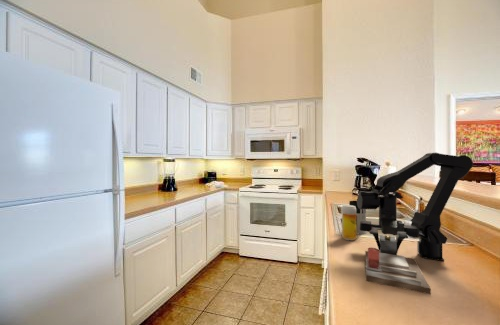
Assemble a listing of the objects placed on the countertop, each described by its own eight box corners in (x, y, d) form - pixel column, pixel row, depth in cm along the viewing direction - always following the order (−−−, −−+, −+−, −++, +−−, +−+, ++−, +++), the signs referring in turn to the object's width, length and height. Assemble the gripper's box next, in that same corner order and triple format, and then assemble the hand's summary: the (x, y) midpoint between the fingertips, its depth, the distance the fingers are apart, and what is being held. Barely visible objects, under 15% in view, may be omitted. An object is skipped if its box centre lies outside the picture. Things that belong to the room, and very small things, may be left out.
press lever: (380, 270, 69) (380, 248, 69) (381, 275, 66) (381, 252, 66) (366, 267, 71) (365, 246, 71) (366, 272, 67) (366, 250, 67)
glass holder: (363, 229, 118) (363, 200, 119) (374, 238, 104) (374, 205, 105) (345, 228, 120) (345, 200, 120) (354, 237, 106) (354, 205, 106)
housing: (394, 252, 87) (394, 234, 87) (396, 259, 81) (396, 239, 81) (379, 250, 89) (379, 232, 90) (380, 256, 83) (380, 237, 83)
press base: (414, 263, 78) (414, 255, 78) (430, 294, 59) (430, 283, 59) (365, 255, 85) (365, 247, 85) (366, 280, 66) (366, 271, 66)
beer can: (358, 241, 100) (357, 207, 100) (343, 240, 101) (343, 206, 101) (354, 237, 106) (354, 205, 106) (340, 236, 107) (340, 204, 107)
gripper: (359, 211, 82) (359, 254, 82) (423, 216, 74) (423, 264, 74) (360, 206, 92) (360, 244, 92) (416, 210, 84) (416, 252, 84)
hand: (387, 251), depth 85 cm, fingers closed on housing, 5 cm apart
